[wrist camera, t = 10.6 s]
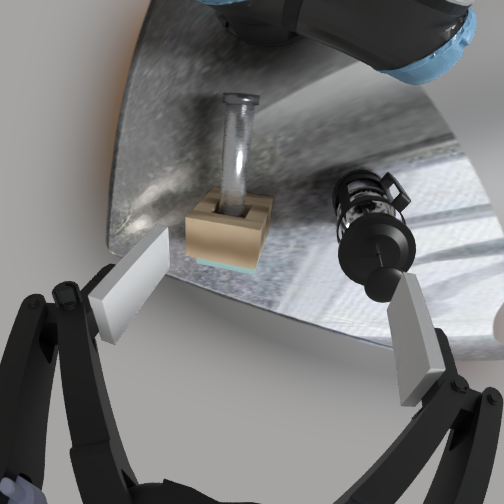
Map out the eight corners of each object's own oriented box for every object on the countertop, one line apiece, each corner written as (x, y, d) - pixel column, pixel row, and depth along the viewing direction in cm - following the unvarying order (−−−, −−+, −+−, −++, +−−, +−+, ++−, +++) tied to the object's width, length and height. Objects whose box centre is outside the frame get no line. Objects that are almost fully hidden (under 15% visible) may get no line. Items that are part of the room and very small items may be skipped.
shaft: (228, 92, 38) (218, 93, 34) (262, 95, 37) (256, 96, 33) (219, 230, 49) (210, 244, 45) (247, 235, 48) (240, 250, 45)
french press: (360, 239, 50) (376, 340, 30) (317, 204, 48) (312, 295, 29) (408, 189, 44) (462, 271, 24) (365, 149, 42) (402, 208, 23)
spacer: (214, 220, 54) (196, 246, 46) (266, 229, 53) (255, 257, 45) (214, 235, 55) (196, 262, 48) (264, 245, 54) (253, 274, 47)
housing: (213, 187, 51) (185, 217, 40) (273, 196, 49) (260, 230, 39) (212, 219, 54) (185, 255, 44) (269, 229, 52) (255, 269, 42)
